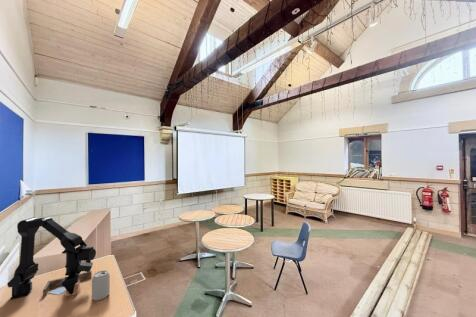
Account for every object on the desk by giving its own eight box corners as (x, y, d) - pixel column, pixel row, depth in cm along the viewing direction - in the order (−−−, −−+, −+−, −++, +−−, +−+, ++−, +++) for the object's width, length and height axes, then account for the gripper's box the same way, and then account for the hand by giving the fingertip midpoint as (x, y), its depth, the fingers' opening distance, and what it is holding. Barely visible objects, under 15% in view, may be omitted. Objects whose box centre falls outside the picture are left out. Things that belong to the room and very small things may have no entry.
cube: (65, 296, 103) (65, 286, 103) (67, 291, 107) (67, 282, 107) (78, 293, 105) (78, 283, 105) (79, 288, 109) (79, 279, 110)
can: (112, 294, 104) (112, 270, 104) (97, 303, 97) (97, 278, 97) (103, 290, 107) (103, 268, 107) (88, 299, 100) (88, 275, 100)
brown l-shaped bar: (42, 296, 103) (43, 289, 103) (48, 287, 110) (48, 281, 110) (89, 284, 113) (89, 277, 113) (91, 276, 121) (91, 270, 121)
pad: (58, 295, 104) (58, 294, 104) (48, 293, 105) (48, 292, 105) (72, 286, 111) (72, 286, 111) (62, 285, 112) (62, 285, 112)
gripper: (89, 263, 103) (89, 294, 102) (93, 250, 119) (93, 277, 118) (61, 270, 97) (61, 302, 96) (69, 255, 113) (68, 283, 112)
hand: (72, 290), depth 106 cm, fingers open, 8 cm apart
